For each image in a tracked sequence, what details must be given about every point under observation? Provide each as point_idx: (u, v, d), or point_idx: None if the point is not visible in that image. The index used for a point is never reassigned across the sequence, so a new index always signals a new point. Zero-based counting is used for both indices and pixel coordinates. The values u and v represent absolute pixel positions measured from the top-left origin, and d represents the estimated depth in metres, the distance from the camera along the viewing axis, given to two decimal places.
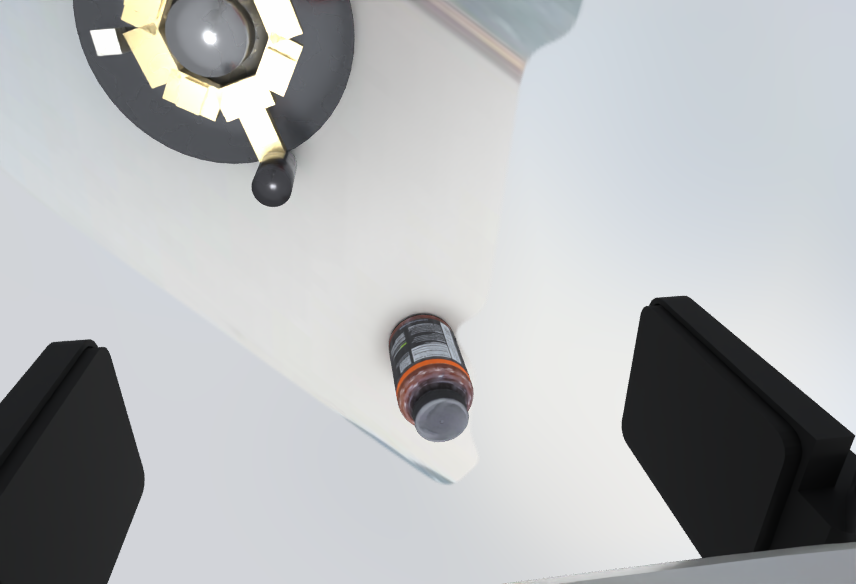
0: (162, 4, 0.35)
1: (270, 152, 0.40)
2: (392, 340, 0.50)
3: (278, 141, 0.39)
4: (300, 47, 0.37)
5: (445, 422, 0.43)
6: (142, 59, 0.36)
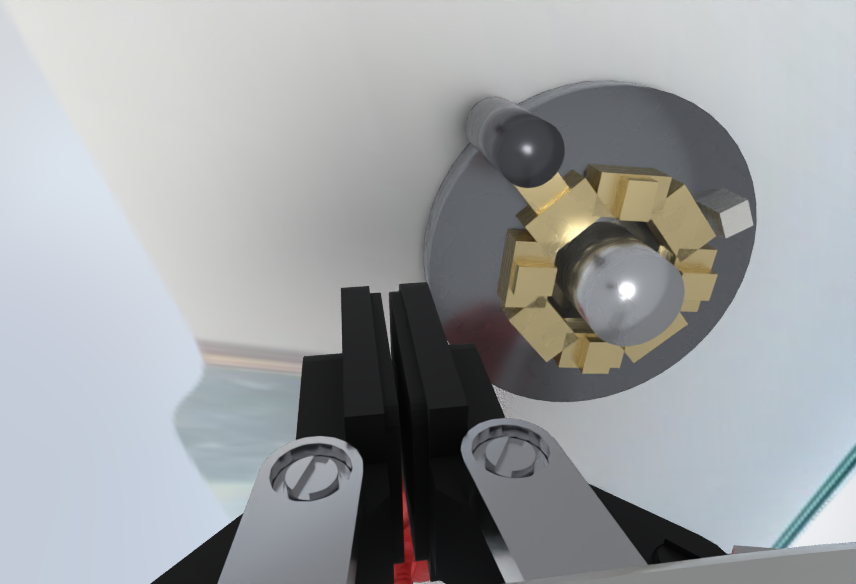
0: None
1: None
2: None
3: None
4: (507, 304, 0.28)
5: None
6: (695, 215, 0.27)
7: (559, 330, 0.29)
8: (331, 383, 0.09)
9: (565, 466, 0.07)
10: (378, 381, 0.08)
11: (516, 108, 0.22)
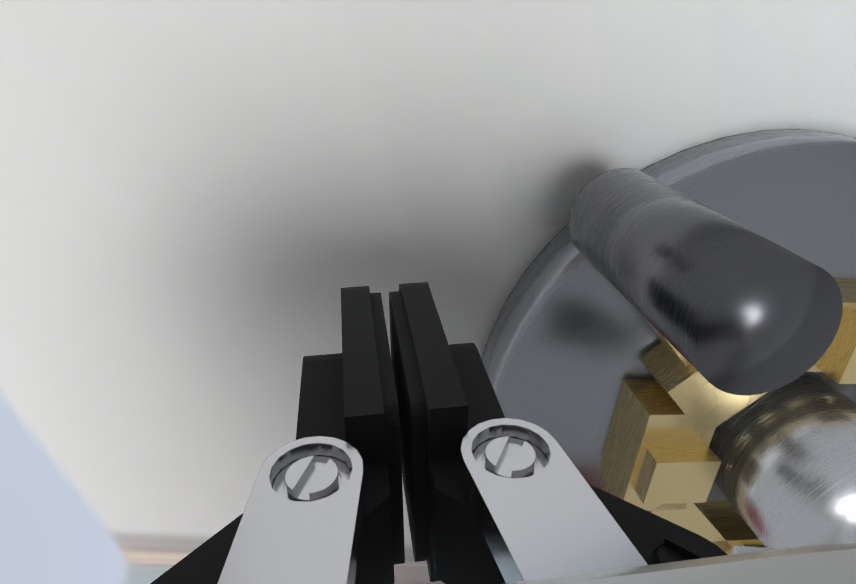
0: None
1: None
2: None
3: None
4: None
5: None
6: None
7: None
8: (331, 383, 0.09)
9: (565, 466, 0.07)
10: (378, 381, 0.08)
11: (701, 210, 0.11)
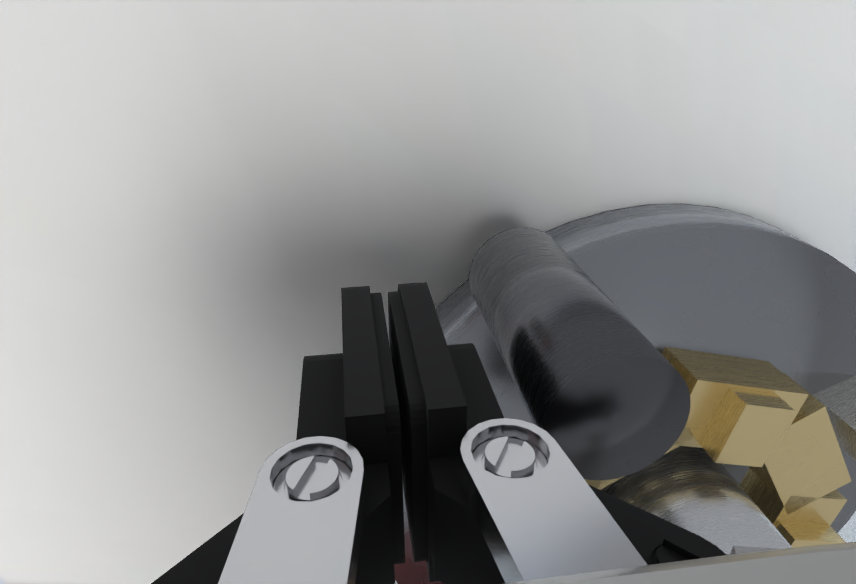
0: None
1: None
2: None
3: None
4: None
5: None
6: (828, 451, 0.16)
7: None
8: (332, 383, 0.09)
9: (564, 466, 0.07)
10: (379, 381, 0.08)
11: (580, 286, 0.11)
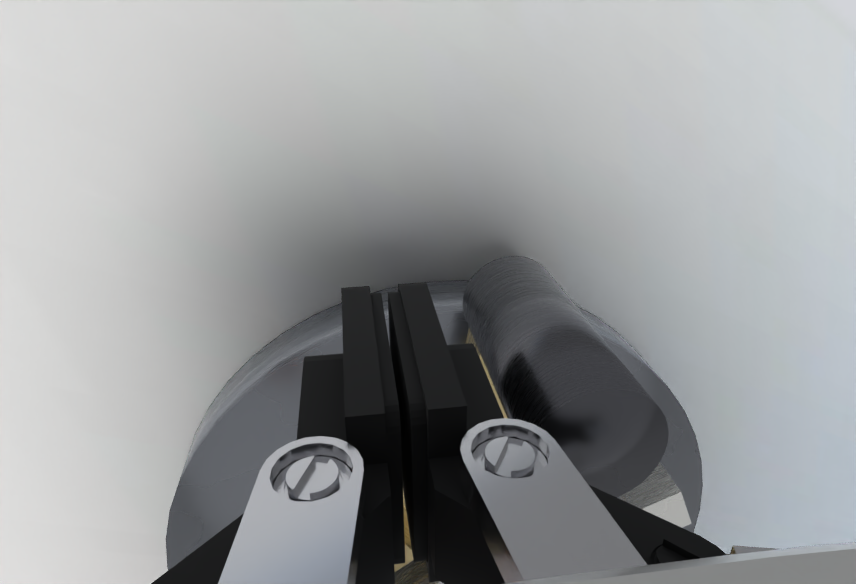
0: None
1: None
2: None
3: None
4: None
5: None
6: None
7: None
8: (332, 382, 0.09)
9: (564, 466, 0.07)
10: (379, 381, 0.08)
11: None
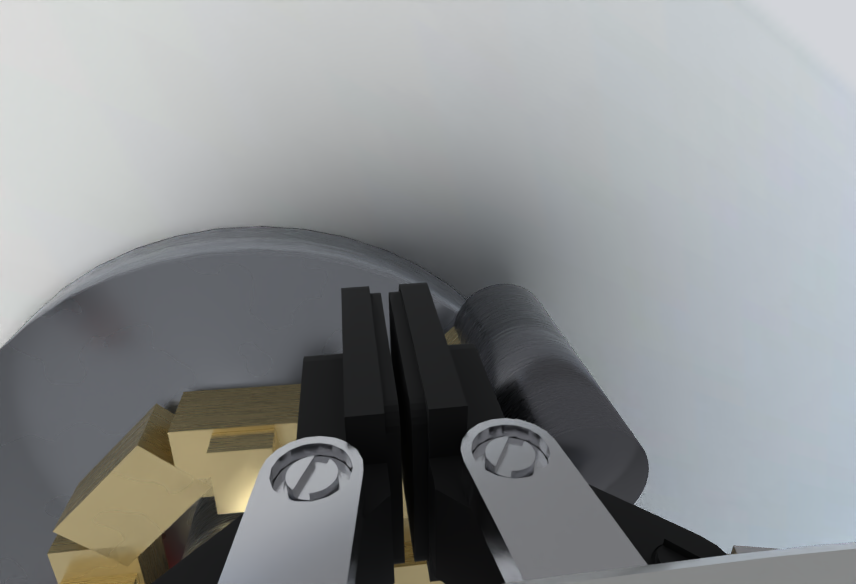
0: None
1: None
2: None
3: None
4: (173, 435, 0.13)
5: None
6: None
7: (136, 533, 0.14)
8: (331, 382, 0.09)
9: (565, 466, 0.07)
10: (378, 381, 0.08)
11: None
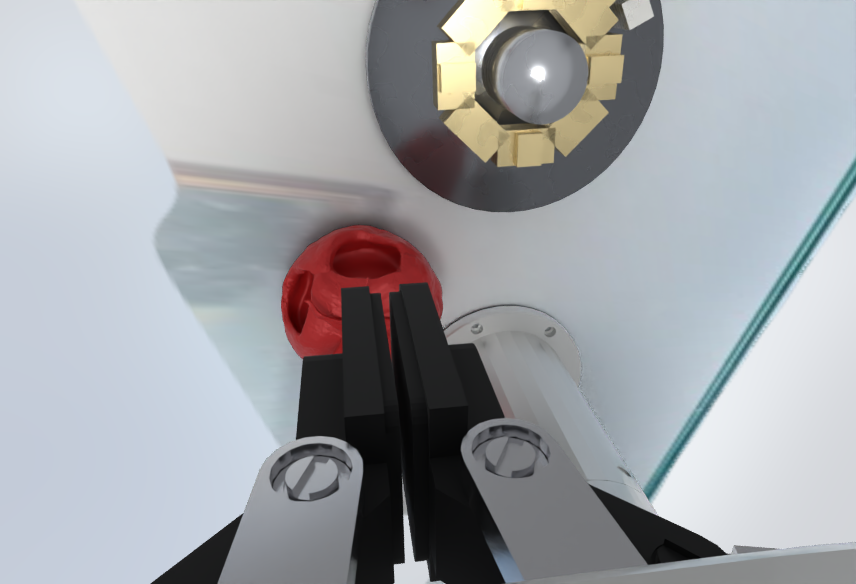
0: (523, 132, 0.33)
1: None
2: None
3: None
4: None
5: None
6: (583, 131, 0.33)
7: (477, 33, 0.30)
8: (331, 383, 0.09)
9: (565, 466, 0.07)
10: (378, 381, 0.08)
11: None
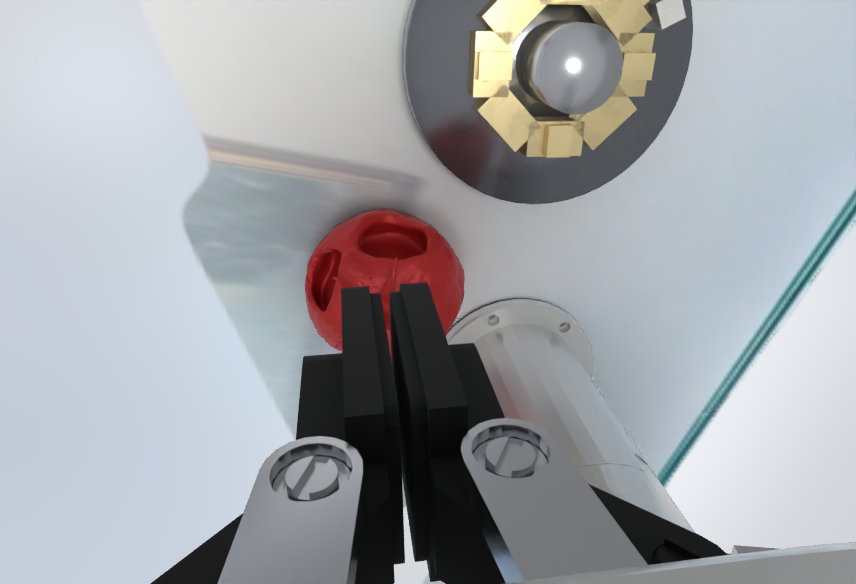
0: (554, 123, 0.34)
1: None
2: None
3: None
4: None
5: None
6: (611, 126, 0.34)
7: (516, 23, 0.31)
8: (331, 383, 0.09)
9: (565, 466, 0.07)
10: (378, 381, 0.08)
11: None
